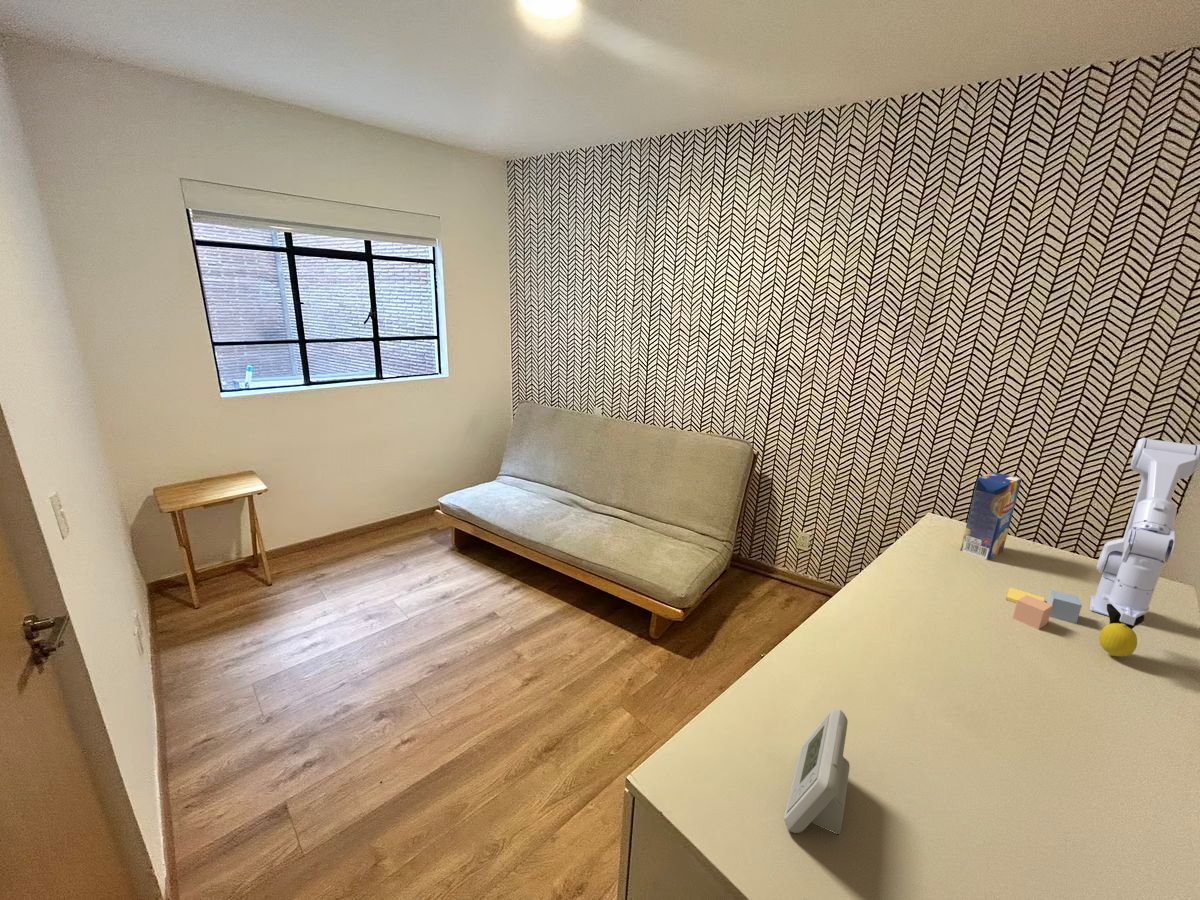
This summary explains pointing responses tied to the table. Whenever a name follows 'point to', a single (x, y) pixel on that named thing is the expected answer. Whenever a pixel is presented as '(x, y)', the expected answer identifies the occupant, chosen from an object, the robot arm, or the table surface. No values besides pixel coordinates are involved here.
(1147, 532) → the robot arm
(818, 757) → the digital clock
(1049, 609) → the terracotta block
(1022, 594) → the tile
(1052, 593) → the slate block
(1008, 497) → the juice carton
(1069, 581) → the table surface
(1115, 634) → the lemon
